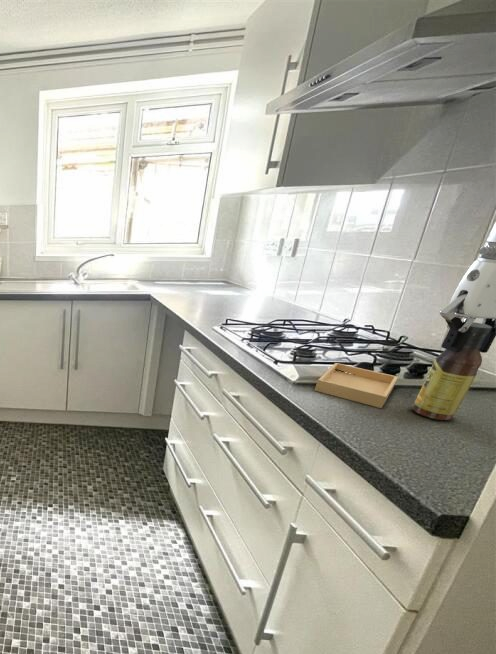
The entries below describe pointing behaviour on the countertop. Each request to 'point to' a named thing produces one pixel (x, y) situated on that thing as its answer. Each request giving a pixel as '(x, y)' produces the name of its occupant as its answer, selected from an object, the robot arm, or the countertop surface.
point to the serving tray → (357, 384)
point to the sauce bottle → (451, 377)
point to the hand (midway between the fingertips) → (463, 349)
